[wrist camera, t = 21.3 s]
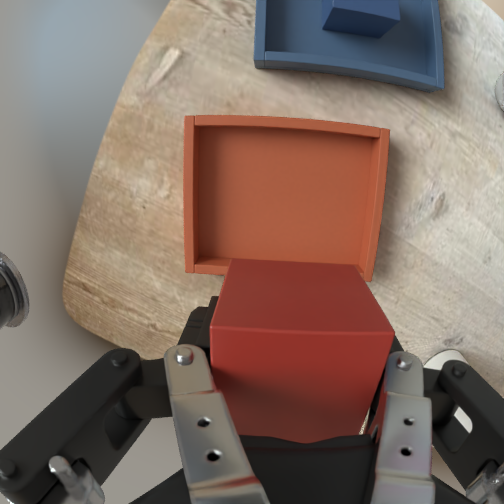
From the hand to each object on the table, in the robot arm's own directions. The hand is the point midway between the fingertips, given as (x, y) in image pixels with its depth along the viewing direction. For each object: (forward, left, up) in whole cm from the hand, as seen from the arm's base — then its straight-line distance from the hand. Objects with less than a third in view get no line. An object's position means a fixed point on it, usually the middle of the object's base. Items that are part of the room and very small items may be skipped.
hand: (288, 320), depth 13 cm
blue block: (+5, +20, -14) cm, 25 cm away
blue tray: (+5, +20, -15) cm, 25 cm away
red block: (0, 0, 0) cm, 0 cm away
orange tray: (0, +3, -15) cm, 16 cm away
